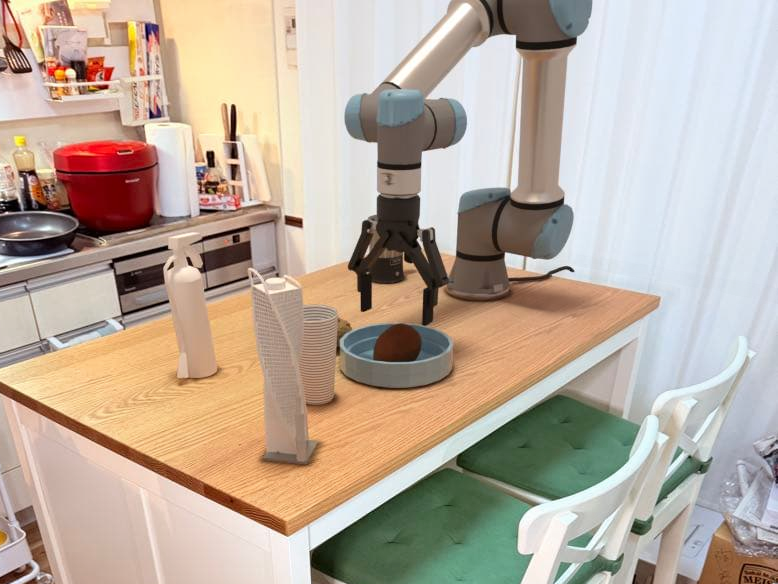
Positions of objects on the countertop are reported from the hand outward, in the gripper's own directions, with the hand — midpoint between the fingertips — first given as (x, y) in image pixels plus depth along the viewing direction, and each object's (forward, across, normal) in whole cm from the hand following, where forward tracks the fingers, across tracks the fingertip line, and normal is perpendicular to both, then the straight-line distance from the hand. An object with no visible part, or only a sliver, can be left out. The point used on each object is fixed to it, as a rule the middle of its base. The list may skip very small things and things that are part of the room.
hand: (396, 316), depth 144 cm
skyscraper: (+10, +4, -38) cm, 39 cm away
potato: (+10, 0, 0) cm, 10 cm away
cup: (+10, -4, -20) cm, 23 cm away
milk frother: (+10, -37, +50) cm, 63 cm away
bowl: (+10, 0, 0) cm, 10 cm away
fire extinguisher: (+10, -30, -24) cm, 40 cm away
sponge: (+10, -22, 0) cm, 24 cm away
